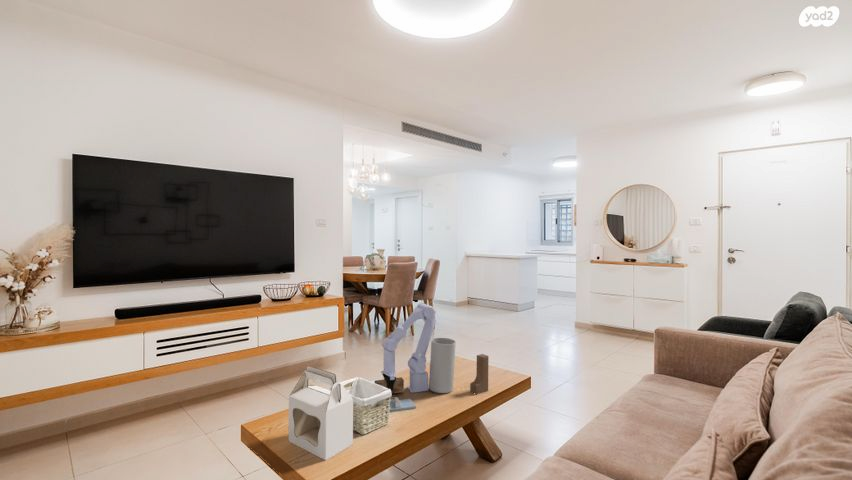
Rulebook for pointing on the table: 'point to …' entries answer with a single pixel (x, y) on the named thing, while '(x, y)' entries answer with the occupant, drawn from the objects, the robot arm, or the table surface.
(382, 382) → the walnut plank
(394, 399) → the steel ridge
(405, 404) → the blue-grey flat rectangular panel
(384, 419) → the storage basket
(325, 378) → the gable box
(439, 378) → the cylinder vase
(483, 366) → the wooden block
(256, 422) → the table surface
